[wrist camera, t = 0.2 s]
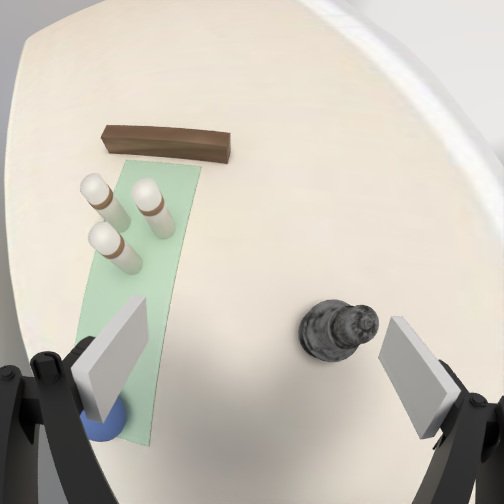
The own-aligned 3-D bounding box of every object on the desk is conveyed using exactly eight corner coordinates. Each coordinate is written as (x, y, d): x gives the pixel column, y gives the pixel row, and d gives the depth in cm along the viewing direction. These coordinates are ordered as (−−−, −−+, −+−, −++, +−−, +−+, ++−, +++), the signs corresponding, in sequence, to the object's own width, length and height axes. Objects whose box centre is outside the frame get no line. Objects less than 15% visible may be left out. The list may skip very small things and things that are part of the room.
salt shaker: (287, 350, 30) (318, 350, 18) (306, 297, 32) (345, 266, 20) (339, 367, 29) (394, 374, 18) (356, 315, 31) (415, 295, 20)
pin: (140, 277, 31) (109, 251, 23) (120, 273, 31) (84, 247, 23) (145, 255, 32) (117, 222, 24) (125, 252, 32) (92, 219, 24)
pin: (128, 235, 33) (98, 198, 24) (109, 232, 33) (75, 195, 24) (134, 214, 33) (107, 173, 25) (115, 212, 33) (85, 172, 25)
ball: (131, 440, 26) (110, 457, 20) (82, 424, 26) (55, 434, 20) (137, 389, 28) (115, 397, 22) (87, 374, 28) (59, 377, 22)
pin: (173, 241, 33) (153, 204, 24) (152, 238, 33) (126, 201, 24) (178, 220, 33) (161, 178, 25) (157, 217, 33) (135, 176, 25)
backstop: (227, 163, 36) (227, 146, 33) (109, 153, 36) (100, 137, 33) (230, 150, 37) (230, 133, 33) (114, 141, 37) (106, 125, 33)
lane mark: (149, 445, 26) (148, 446, 26) (67, 418, 26) (66, 418, 26) (201, 167, 36) (201, 166, 36) (126, 160, 36) (125, 159, 36)
